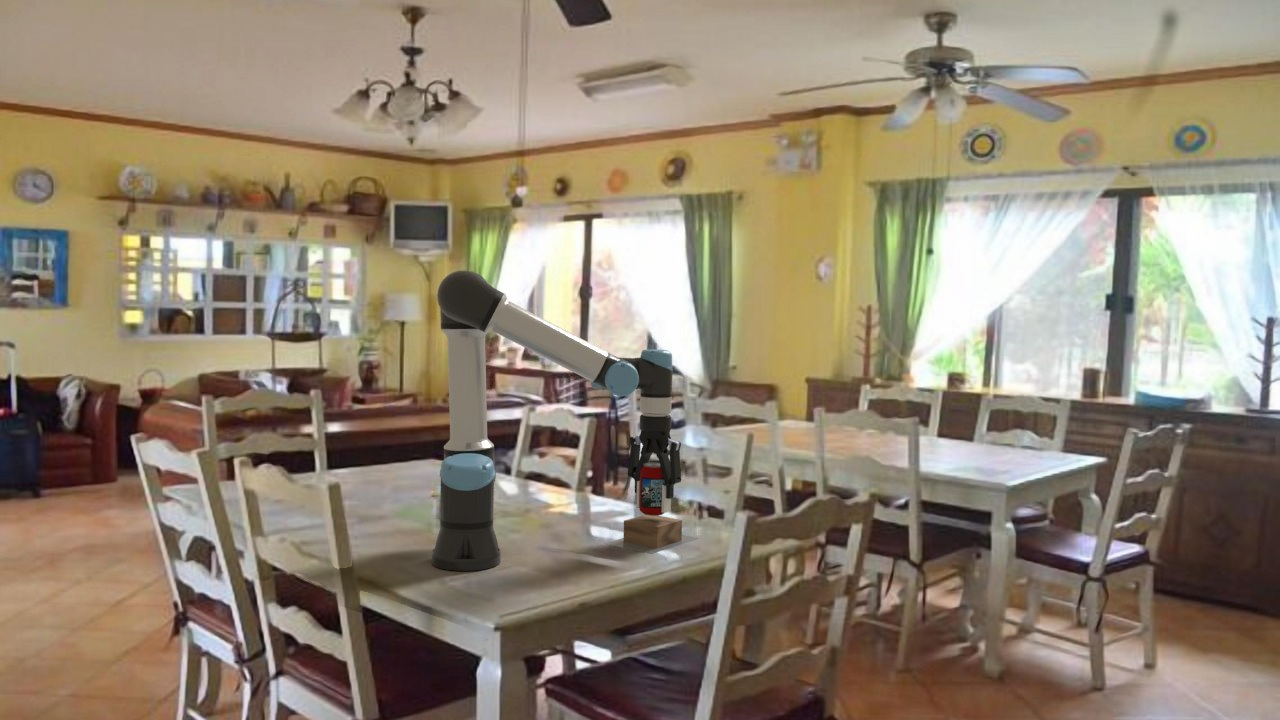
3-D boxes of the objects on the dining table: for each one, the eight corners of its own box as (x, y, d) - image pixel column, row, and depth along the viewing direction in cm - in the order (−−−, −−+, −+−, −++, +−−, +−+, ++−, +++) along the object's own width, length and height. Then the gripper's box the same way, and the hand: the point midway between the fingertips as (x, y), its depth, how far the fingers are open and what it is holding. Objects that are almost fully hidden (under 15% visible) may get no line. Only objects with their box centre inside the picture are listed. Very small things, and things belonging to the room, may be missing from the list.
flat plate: (651, 558, 232) (651, 553, 232) (603, 548, 240) (603, 543, 240) (699, 543, 248) (699, 538, 248) (653, 533, 256) (653, 529, 256)
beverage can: (643, 517, 239) (644, 466, 238) (636, 511, 246) (637, 462, 245) (670, 516, 241) (672, 466, 240) (662, 510, 247) (663, 461, 247)
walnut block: (657, 548, 237) (657, 527, 236) (623, 541, 243) (623, 520, 242) (681, 540, 245) (682, 520, 244) (648, 533, 251) (648, 513, 250)
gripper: (698, 416, 239) (696, 513, 240) (632, 409, 251) (630, 501, 252) (680, 419, 233) (678, 518, 234) (613, 411, 245) (611, 506, 246)
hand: (653, 509), depth 243 cm, fingers closed on beverage can, 7 cm apart
